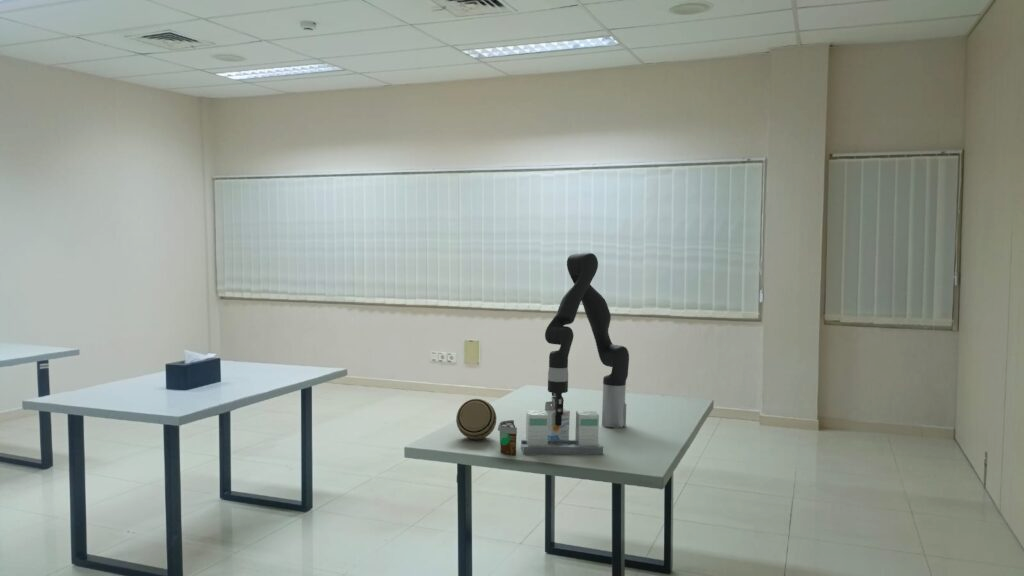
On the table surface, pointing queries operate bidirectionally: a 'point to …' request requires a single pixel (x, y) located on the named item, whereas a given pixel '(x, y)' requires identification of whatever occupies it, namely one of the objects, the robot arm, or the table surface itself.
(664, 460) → the table surface
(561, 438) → the ink box
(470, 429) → the mechanical component
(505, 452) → the food container
